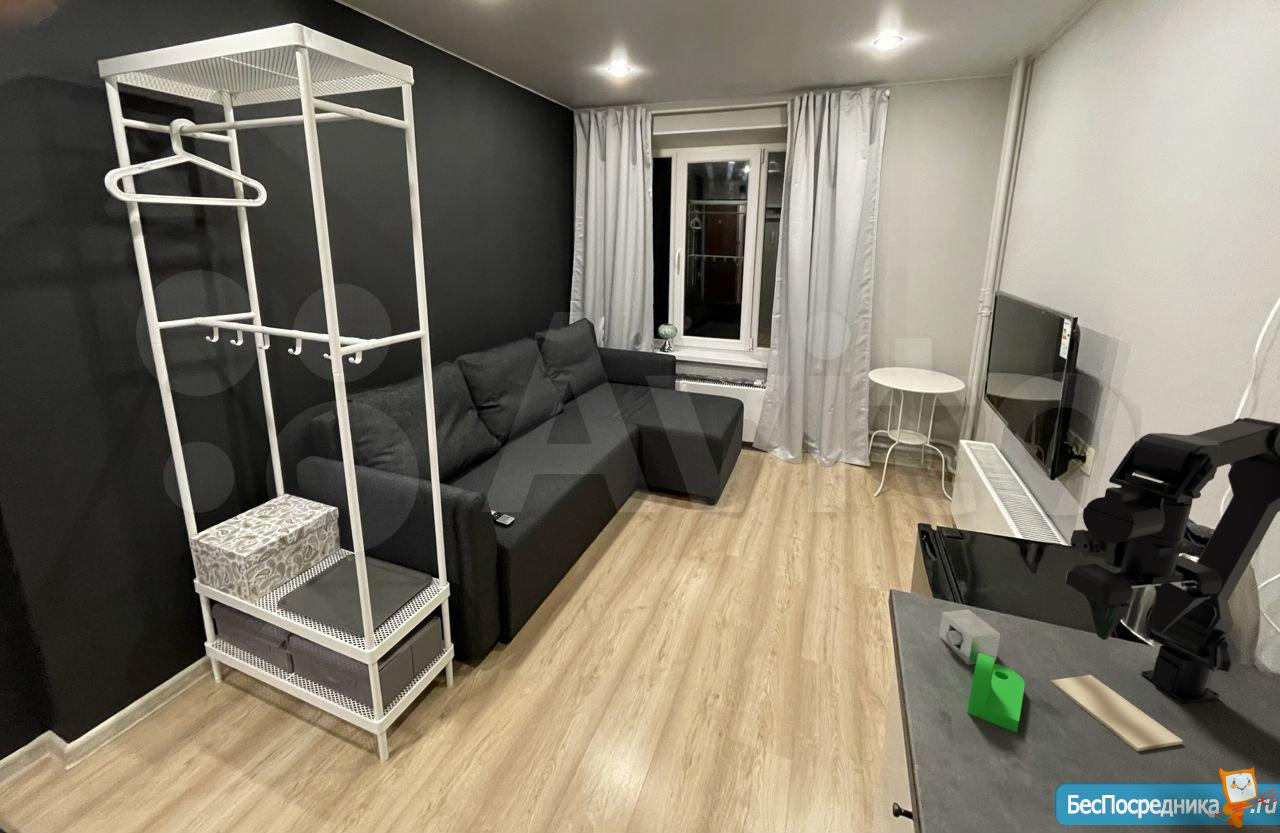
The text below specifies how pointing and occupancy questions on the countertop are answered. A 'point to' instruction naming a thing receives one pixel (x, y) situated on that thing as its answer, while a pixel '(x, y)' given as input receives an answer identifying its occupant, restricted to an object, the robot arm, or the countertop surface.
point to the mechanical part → (996, 693)
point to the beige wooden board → (1116, 713)
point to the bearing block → (970, 635)
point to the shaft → (956, 636)
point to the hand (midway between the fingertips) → (1129, 634)
